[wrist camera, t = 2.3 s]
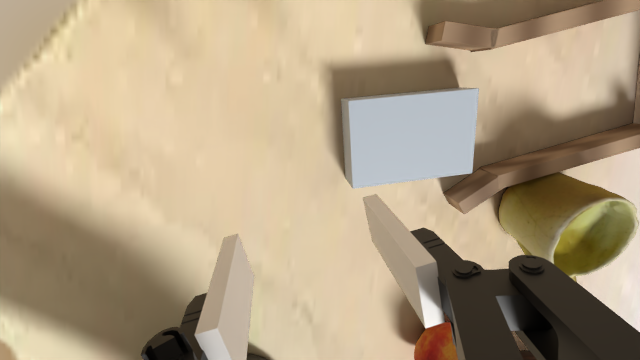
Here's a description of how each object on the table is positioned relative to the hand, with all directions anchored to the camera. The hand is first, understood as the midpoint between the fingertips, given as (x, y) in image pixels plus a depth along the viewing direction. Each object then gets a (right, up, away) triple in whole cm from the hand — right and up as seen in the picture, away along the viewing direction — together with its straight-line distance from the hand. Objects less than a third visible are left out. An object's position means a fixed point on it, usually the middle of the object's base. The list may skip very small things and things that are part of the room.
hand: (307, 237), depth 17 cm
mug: (+25, -1, +21) cm, 32 cm away
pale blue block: (+9, +8, +15) cm, 19 cm away
